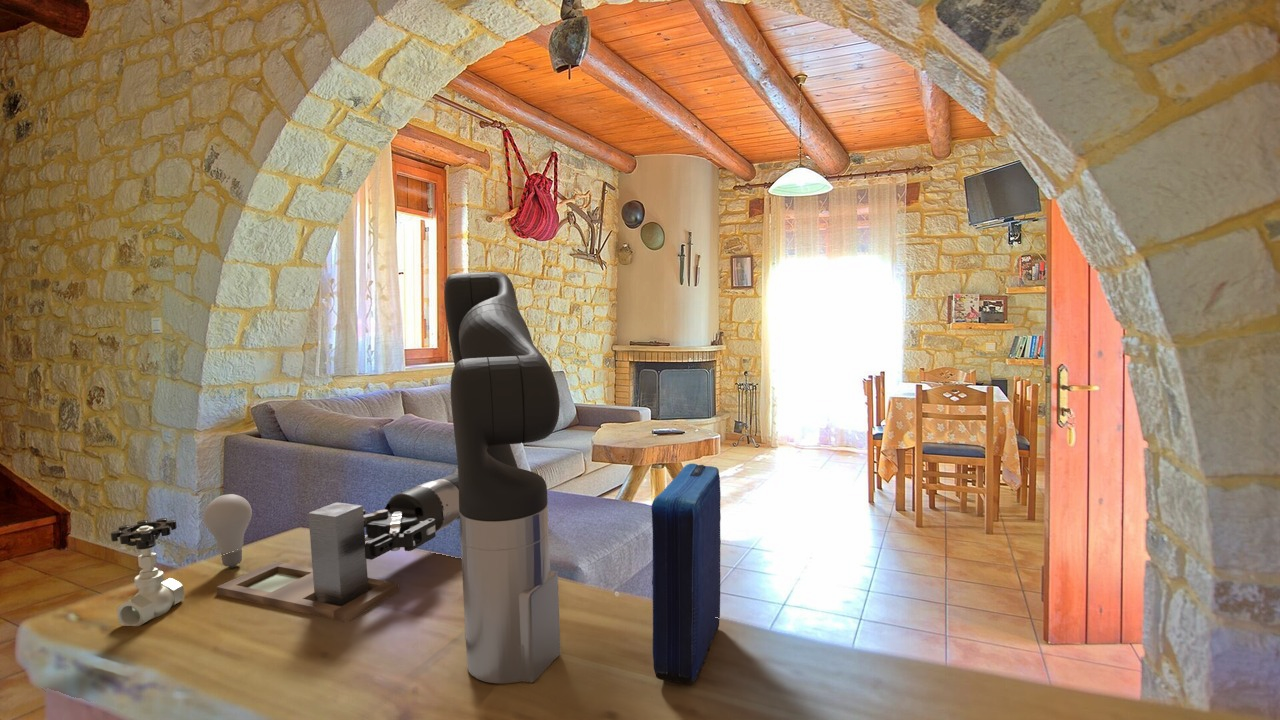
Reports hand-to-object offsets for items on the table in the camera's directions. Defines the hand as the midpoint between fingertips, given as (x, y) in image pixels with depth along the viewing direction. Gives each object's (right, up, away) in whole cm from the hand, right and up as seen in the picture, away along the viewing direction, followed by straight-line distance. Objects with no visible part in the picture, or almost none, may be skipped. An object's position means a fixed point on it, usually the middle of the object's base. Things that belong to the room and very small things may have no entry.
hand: (341, 548), depth 88 cm
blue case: (+44, -8, -13) cm, 47 cm away
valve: (-23, -9, -2) cm, 24 cm away
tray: (-6, -7, +3) cm, 10 cm away
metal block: (0, -7, 0) cm, 7 cm away
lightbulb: (-22, -7, +14) cm, 27 cm away
